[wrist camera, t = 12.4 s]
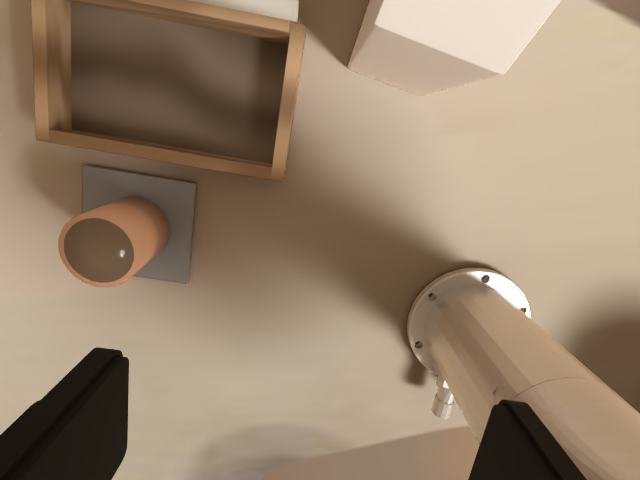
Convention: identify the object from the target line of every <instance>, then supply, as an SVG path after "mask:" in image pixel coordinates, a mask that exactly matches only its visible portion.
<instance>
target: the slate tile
mask: <svg viewBox="0 0 640 480" xmlns="http://www.w3.org/2000/svg"><path fill="white" fill-rule="evenodd" d="M196 184H197V183H192V182H186V181H180V180H174V179H168V178H162V177H156V176H150V175H144V174H138V173H132V172H126V171H120V170H114V169H108V168H102V167H96V166H90V165H83V166H82V214H84V213H86V212H89V211H91V210H94V209H96V208H99V207H101V206H104V205H106V204H109V203H111V202H114V201H116V200H119V199H121V198H125V197H129V196H138V197H143V198H146V199H148V200H150V201H152V202H154V203H155V204H157V205H158V206H159V207H160V208H161V209H162V210H163V212H164V213H165V215H166V216H167V219H168V221H169V225H170V237H169V240H168V242H167V244H166V246H165V247H164V248H163V250H162V251H160V252H159V253H158V254H157V255H156V256H155V257H153V258H152V259H151V260H150V261H149V262H148V263H147V264H145V265H144V266H143V267H142V268H141V269H140V270H138V271H137V272H136V273H135V274H134V275H133V276H136V277H143V278H150V279H157V280H164V281H170V282H177V283H184V284H187V283H188V282H189V270H190V258H191V246H192V233H193V221H194V209H195V196H196Z"/></svg>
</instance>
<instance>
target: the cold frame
mask: <svg viewBox="0 0 640 480" xmlns="http://www.w3.org/2000/svg"><path fill="white" fill-rule="evenodd" d="M298 7H299V0H31V13H32V41H33V68H34V96H35V124H36V140H38V141H44V142H50V143H56V144H62V145H68V146H74V147H80V148H86V149H92V150H98V151H104V152H110V153H116V154H122V155H128V156H133V157H139V158H145V159H151V160H157V161H163V162H169V163H175V164H181V165H187V166H193V167H199V168H205V169H211V170H217V171H223V172H229V173H234V174H240V175H246V176H252V177H258V178H264V179H270V180H276V181H283V179H284V177H285V172H286V165H287V158H288V151H289V145H290V138H291V131H292V124H293V117H294V110H295V103H296V96H297V90H298V83H299V76H300V69H301V62H302V55H303V48H304V41H305V25H304V24H299V23H294V22H297V19H298ZM292 21H294V22H292Z"/></svg>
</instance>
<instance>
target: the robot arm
mask: <svg viewBox="0 0 640 480" xmlns="http://www.w3.org/2000/svg"><path fill="white" fill-rule="evenodd" d="M482 276H483V277H482ZM430 293H431V295H429V294H430ZM407 336H408V339H409V343H410V346H411V348H412V350H413V352H414V354H415V356H416V357H417V359H418V360H419V361H420V363H422V364H423V365H424V366H425V367H426V368H427V369H428V370H430V371H432V372H433V373H435V374H437V376H438V378H437V382H436V383H437V386H438V387H439V388H438V392H437V393H436V396H435V399H434V403H433V406H432V409H431V410H432V412H433V413H434V414H435V415H436V416H437V417H439V418H443V419H447V418H449V417H450V414H451V411H452V408H453V405H454V399H455V400H456V402H457V404H458V406H459V408H460V410H461V411H462V413H463V415H464V417H465V419H466V421H467V423H468V425H469V427H470V428H471V430H472V432H473V434H474V436H475V438H476V440H477V441H478V443H479V445H480V446H479V449H478V452H477V455H476V458H475V461H474V464H473V467H472V471H471V474H470V476H469V479H468V480H640V413H639V412H638V411H637V410H635V409H634V408H633V407H632V406H631V405H630V404H628V403H627V402H626V401H625V400H624V399H623V398H622V397H620V396H619V395H618V394H617V393H616V392H615V391H613V390H612V389H611V388H610V387H609V386H607V385H606V384H605V383H604V382H603V381H602V380H601V379H599V378H598V377H597V376H596V375H595V374H594V373H593V372H591V371H590V370H589V369H588V368H587V367H586V366H585V365H583V364H582V363H581V362H580V361H579V360H578V359H577V358H575V357H574V356H573V355H572V354H571V353H570V352H568V351H567V350H566V349H565V348H564V347H563V346H562V345H560V344H559V343H558V342H557V341H556V340H555V339H554V338H552V337H551V336H550V335H549V334H548V333H547V332H546V331H544V330H543V329H542V328H541V327H540V326H539V325H538V324H536V323H535V322H534V321H533V320H532V319H531V314H530V308H529V304H528V302H527V299H526V297H525V295H524V294H523V292H522V291H521V289H520V288H519V287H518V286H517V285H516V284H515V283H513V282H512V281H511V280H510V279H508V278H507V277H505V276H504V275H503V274H500V273H498V272H496V271H493V270H490V269H485V268H463V269H457V270H454V271H451V272H448V273H446V274H444V275H442V276H440V277H438V278H437V279H435V280H434V281H432V282H431V283H430V284H429V285H427V286H426V287H425V288H424V289H423V290H422V292H421V293H420V294H419V295H418V296H417V298H416V300H415V301H414V303H413V305H412V307H411V310H410V312H409V315H408V321H407ZM417 341H418V342H417ZM128 379H129V360H128V358H127V357H123V354H122V352H121V351H120V350H113V349H105V348H94V349H93V350H92V351H91V352H90V353H89V354H88V355H87V356H86V357H85V358H84V359H82V360H81V361H80V362H79V363H78V364H77V365H76V366H75V367H74V368H73V369H72V370H71V371H70V372H69V373H68V374H67V375H66V376H65V377H64V378H63V379H62V380H61V381H60V382H59V383H58V384H57V385H56V386H55V387H54V388H53V389H52V390H51V391H50V392H49V393H48V394H47V395H46V396H45V397H44V398H42V399H41V400H40V401H37V402H36V403H34V404H33V405H32V406H30V407H29V408H28V409H27V410H26V411H25V412H24V413H23V414H22V415H21V416H20V417H19V418H18V419H17V420H16V421H15V422H14V423H13V424H12V425H11V426H10V427H8V428H7V429H6V430H5V431H4V432H3V433H2V434H1V435H0V480H111V479H112V478H113V476H114V474H115V473H116V471H117V469H118V467H119V466H120V464H121V462H122V460H123V458H124V456H125V453H126V449H127V431H128Z"/></svg>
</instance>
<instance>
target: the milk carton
mask: <svg viewBox="0 0 640 480" xmlns="http://www.w3.org/2000/svg"><path fill="white" fill-rule="evenodd" d="M560 1H561V0H370V1H369V4H368V7H367V10H366V13H365V16H364V19H363V22H362V25H361V28H360V31H359V34H358V37H357V40H356V43H355V46H354V49H353V52H352V55H351V58H350V61H349V64H348V68H349V69H350V70H353V71H355V72H358V73H360V74H363V75H366V76H368V77H371V78H374V79H376V80H379V81H382V82H384V83H387V84H390V85H392V86H395V87H398V88H400V89H403V90H406V91H408V92H411V93H414V94H416V95H419V96H425V95H428V94H432V93H436V92H439V91H443V90H447V89H450V88H454V87H458V86H462V85H465V84H469V83H473V82H476V81H480V80H484V79H488V78H491V77H495V76H499V75H503V74H505V73H506V72H507V70H508V69H509V68H510V66H511V65H512V64H513V62H514V61H515V60H516V58H517V57H518V56H519V55H520V53H521V52H522V51H523V49H524V48H525V47H526V45H527V44H528V43H529V41H530V40H531V39H532V38H533V36H534V35H535V34H536V32H537V31H538V30H539V28H540V27H541V26H542V24H543V23H544V22H545V21H546V19H547V18H548V17H549V15H550V14H551V13H552V11H553V10H554V9H555V7H556V6H557V5H558V4H559V2H560Z"/></svg>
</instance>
